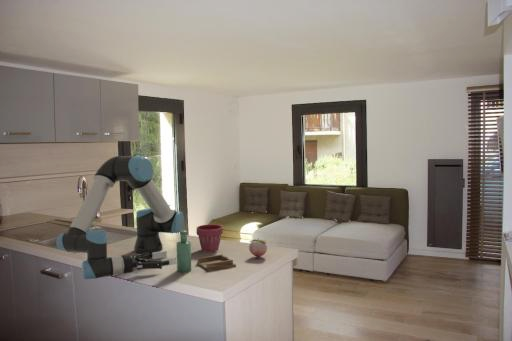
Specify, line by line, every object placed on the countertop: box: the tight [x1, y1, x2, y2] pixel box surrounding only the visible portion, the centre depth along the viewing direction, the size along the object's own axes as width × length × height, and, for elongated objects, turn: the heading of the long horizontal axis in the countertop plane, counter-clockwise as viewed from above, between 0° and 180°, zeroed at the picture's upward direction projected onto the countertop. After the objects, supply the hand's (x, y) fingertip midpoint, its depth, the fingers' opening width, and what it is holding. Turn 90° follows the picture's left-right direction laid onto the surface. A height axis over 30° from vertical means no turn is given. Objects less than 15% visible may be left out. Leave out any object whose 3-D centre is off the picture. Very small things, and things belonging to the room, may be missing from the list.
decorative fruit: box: [248, 239, 268, 258], centre depth 205 cm, size 9×8×10 cm
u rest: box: [196, 253, 237, 272], centre depth 193 cm, size 14×14×3 cm
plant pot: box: [196, 223, 224, 253], centre depth 221 cm, size 14×14×13 cm
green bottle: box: [176, 229, 192, 274], centre depth 184 cm, size 6×6×18 cm
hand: (171, 257), depth 181 cm, fingers open, 13 cm apart
